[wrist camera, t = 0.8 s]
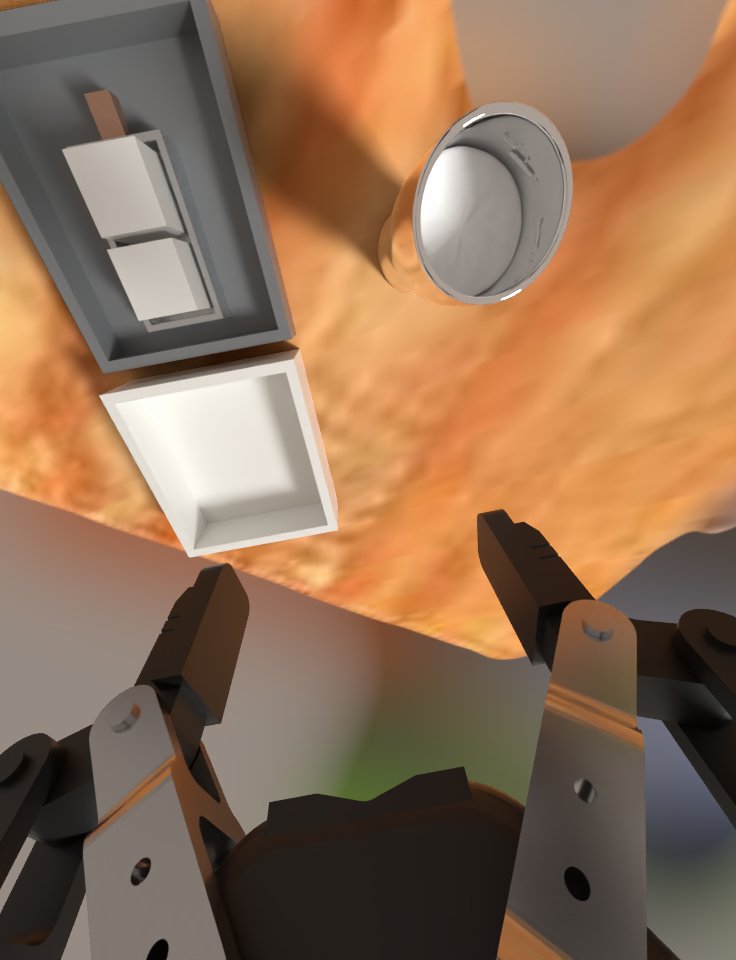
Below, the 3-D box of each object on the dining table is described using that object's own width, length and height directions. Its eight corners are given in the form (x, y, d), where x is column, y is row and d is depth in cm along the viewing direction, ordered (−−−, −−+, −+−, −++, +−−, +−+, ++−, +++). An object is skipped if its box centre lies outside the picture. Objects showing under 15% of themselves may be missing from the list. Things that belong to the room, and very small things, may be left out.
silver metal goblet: (391, 174, 25) (456, 46, 12) (476, 217, 26) (616, 148, 13) (359, 280, 28) (381, 273, 15) (436, 313, 29) (519, 333, 16)
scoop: (73, 117, 21) (44, 99, 19) (161, 100, 21) (143, 80, 19) (162, 328, 27) (148, 332, 25) (231, 315, 27) (223, 318, 25)
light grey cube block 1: (104, 171, 22) (61, 149, 19) (165, 159, 22) (133, 135, 19) (134, 245, 24) (101, 237, 21) (191, 234, 24) (166, 225, 21)
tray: (-24, 63, 20) (-82, 27, 18) (217, 17, 20) (198, -28, 18) (126, 365, 29) (103, 374, 26) (295, 333, 29) (291, 339, 26)
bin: (133, 379, 30) (98, 395, 25) (299, 348, 30) (293, 359, 25) (205, 526, 38) (189, 557, 33) (337, 502, 38) (338, 530, 33)
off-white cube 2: (139, 255, 24) (106, 249, 21) (194, 244, 24) (171, 237, 21) (164, 316, 26) (138, 321, 23) (215, 307, 26) (197, 309, 23)
